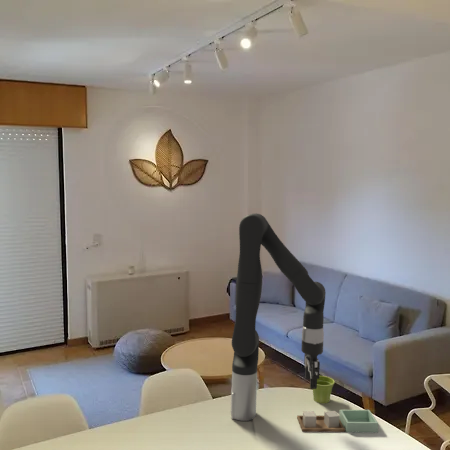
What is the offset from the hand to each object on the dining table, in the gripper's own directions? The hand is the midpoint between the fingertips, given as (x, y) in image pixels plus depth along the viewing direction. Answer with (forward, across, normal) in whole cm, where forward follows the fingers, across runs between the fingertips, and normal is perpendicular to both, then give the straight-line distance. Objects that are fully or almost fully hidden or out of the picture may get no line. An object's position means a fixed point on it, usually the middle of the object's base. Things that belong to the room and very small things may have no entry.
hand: (310, 383), depth 182 cm
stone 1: (+15, 0, 0) cm, 15 cm away
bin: (+16, +1, +18) cm, 24 cm away
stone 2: (+15, 0, +8) cm, 17 cm away
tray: (+16, 0, +4) cm, 16 cm away
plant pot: (+16, -20, +9) cm, 27 cm away
